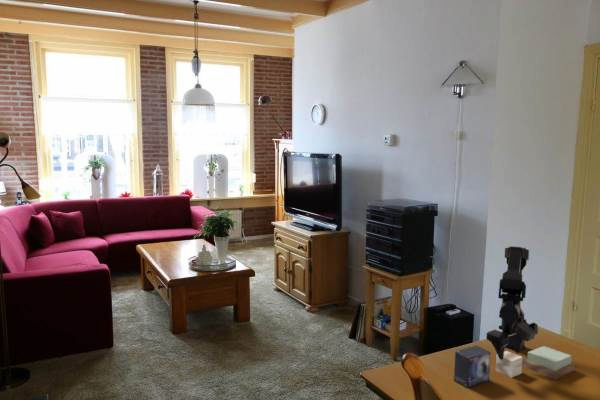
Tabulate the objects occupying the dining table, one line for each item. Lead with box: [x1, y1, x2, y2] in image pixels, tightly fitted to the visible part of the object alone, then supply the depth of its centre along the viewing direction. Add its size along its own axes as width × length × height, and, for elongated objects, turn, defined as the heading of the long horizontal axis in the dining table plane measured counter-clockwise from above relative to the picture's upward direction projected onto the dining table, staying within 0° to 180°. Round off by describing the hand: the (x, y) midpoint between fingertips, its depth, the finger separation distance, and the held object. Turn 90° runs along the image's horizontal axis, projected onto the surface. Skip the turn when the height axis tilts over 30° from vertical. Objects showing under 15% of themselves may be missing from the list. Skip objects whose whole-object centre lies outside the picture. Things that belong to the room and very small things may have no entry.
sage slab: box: [526, 345, 572, 371], centre depth 169 cm, size 10×10×3 cm
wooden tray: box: [522, 357, 575, 380], centre depth 169 cm, size 12×12×3 cm
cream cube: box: [495, 350, 523, 379], centre depth 167 cm, size 6×6×6 cm
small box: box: [453, 345, 492, 389], centre depth 160 cm, size 11×6×10 cm, turn 117°
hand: (509, 356), depth 167 cm, fingers open, 9 cm apart
